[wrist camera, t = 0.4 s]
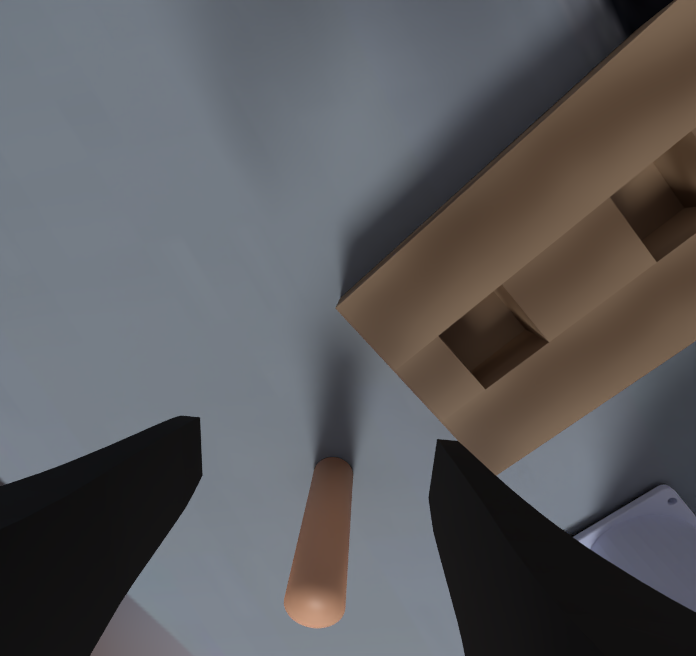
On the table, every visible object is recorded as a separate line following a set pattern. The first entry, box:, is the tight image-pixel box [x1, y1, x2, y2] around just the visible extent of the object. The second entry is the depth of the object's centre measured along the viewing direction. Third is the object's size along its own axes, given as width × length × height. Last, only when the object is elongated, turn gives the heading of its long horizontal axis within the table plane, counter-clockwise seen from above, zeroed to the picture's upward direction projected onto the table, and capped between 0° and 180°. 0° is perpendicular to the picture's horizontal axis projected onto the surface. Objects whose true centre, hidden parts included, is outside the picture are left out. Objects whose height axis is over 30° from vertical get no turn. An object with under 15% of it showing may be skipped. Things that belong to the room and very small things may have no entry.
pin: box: [284, 457, 353, 628], centre depth 18 cm, size 2×2×8 cm
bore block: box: [336, 0, 696, 475], centre depth 16 cm, size 12×18×3 cm, turn 133°
